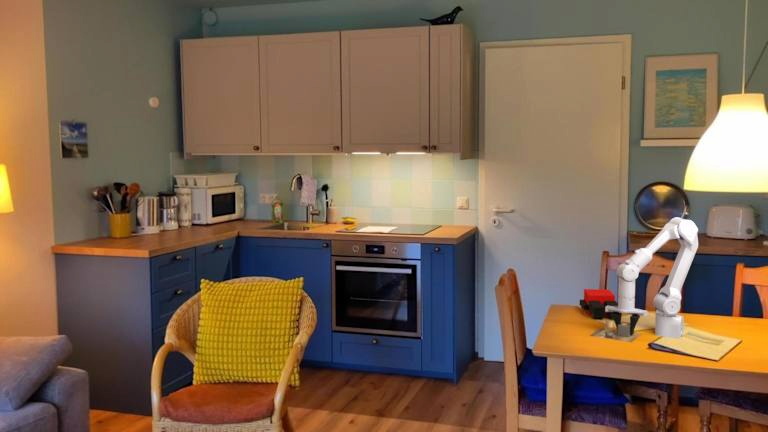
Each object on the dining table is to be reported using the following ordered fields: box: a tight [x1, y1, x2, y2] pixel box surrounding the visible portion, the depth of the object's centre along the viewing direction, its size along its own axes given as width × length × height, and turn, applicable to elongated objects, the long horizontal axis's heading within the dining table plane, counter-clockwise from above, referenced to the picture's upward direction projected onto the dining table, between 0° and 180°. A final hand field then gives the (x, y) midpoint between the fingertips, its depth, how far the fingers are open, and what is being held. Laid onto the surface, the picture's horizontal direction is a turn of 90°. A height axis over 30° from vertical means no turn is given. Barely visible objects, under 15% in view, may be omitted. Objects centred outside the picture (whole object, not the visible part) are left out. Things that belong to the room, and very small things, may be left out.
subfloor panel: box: [589, 328, 641, 343], centre depth 259 cm, size 15×12×1 cm
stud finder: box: [616, 321, 631, 338], centre depth 259 cm, size 4×6×4 cm, turn 145°
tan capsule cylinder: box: [604, 319, 614, 339], centre depth 255 cm, size 3×3×6 cm
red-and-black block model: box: [579, 288, 618, 319], centre depth 292 cm, size 15×8×25 cm
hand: (625, 333), depth 259 cm, fingers closed on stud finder, 4 cm apart
